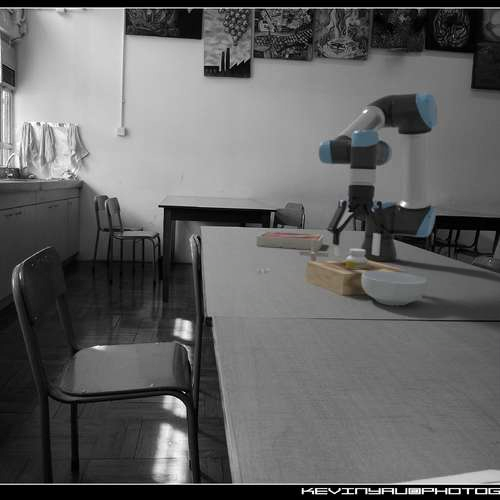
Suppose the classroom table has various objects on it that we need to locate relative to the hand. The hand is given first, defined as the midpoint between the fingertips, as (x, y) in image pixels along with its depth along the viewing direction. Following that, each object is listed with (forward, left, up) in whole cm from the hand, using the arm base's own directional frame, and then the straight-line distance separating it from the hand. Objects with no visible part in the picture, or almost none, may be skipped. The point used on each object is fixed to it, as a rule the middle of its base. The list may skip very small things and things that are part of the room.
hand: (356, 255), depth 154 cm
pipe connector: (-3, -30, -9) cm, 32 cm away
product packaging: (-23, -85, -10) cm, 89 cm away
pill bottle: (0, 0, -9) cm, 9 cm away
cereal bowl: (+2, +20, -10) cm, 22 cm away
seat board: (0, 0, -9) cm, 9 cm away
